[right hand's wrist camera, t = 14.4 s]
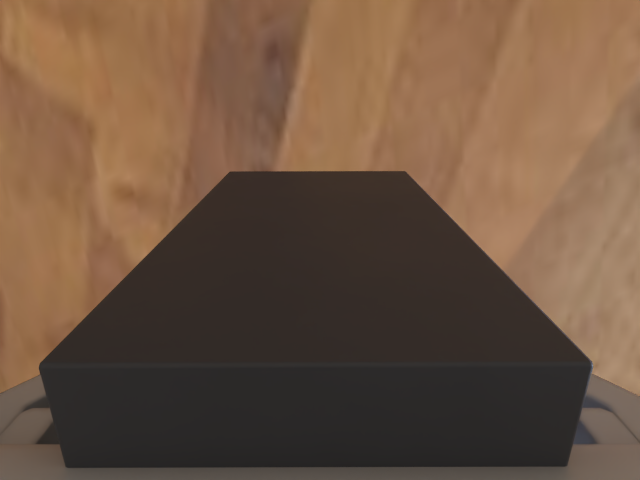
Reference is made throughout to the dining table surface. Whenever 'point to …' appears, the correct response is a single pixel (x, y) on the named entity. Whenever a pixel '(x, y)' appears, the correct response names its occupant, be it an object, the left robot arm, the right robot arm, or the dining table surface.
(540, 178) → the dining table surface
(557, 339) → the bar
